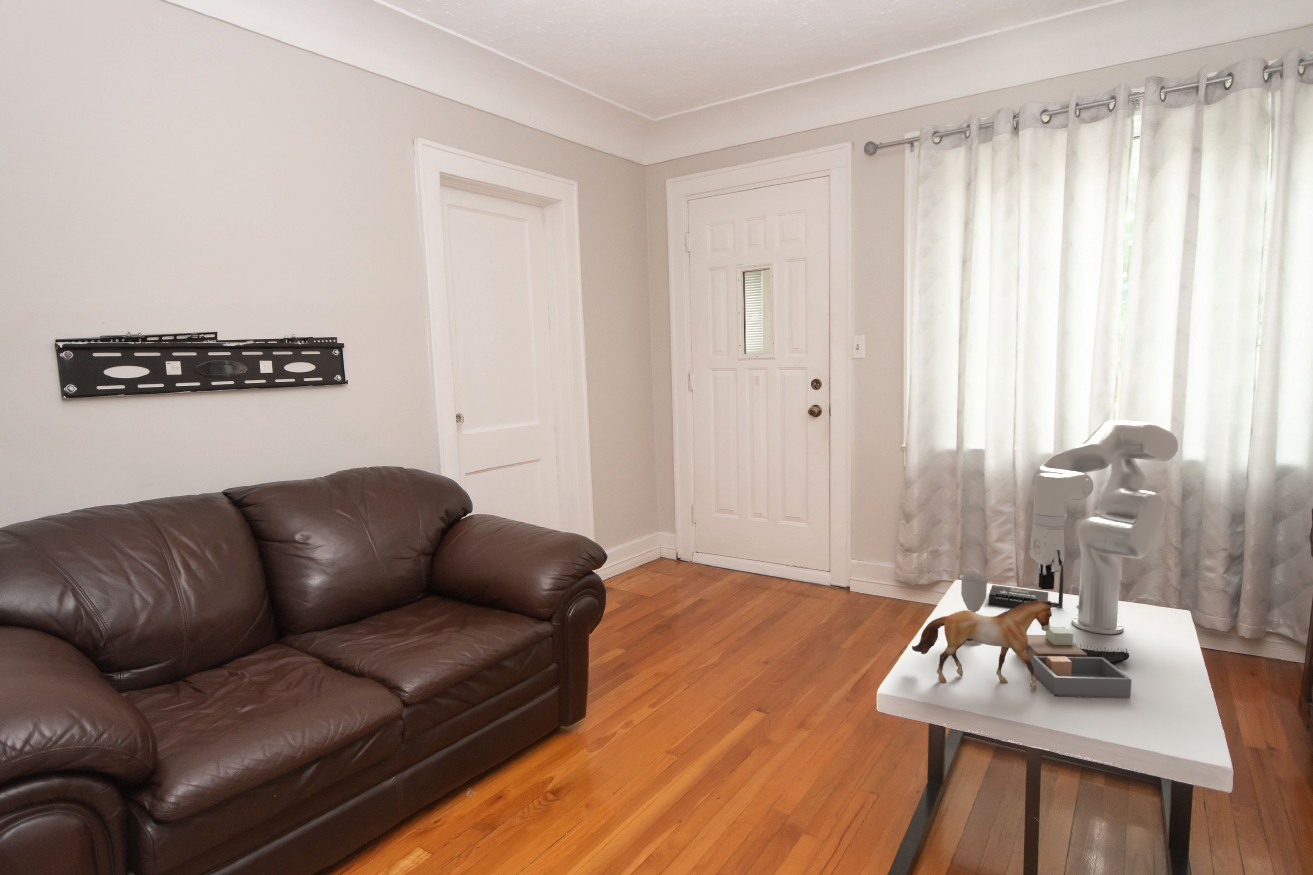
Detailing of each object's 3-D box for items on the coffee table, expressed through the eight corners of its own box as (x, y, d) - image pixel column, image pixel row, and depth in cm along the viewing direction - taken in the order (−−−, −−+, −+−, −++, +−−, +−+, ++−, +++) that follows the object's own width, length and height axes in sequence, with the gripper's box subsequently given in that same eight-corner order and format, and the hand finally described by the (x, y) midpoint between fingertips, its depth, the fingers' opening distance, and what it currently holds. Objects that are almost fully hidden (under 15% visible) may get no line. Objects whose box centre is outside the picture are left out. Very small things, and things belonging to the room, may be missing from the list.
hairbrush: (1022, 628, 195) (1130, 645, 179) (1023, 641, 196) (1131, 659, 180) (1015, 637, 189) (1127, 656, 173) (1016, 651, 189) (1127, 671, 173)
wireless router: (988, 607, 220) (989, 554, 218) (992, 594, 232) (994, 543, 230) (1061, 618, 210) (1064, 562, 208) (1062, 604, 222) (1065, 551, 220)
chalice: (957, 644, 191) (959, 580, 189) (957, 635, 197) (959, 573, 195) (987, 648, 188) (989, 582, 186) (986, 638, 195) (988, 575, 193)
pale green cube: (1045, 637, 182) (1046, 626, 182) (1063, 637, 182) (1064, 626, 181) (1053, 644, 178) (1054, 633, 177) (1072, 644, 177) (1073, 633, 177)
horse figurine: (1049, 682, 168) (1053, 599, 166) (1057, 697, 161) (1061, 610, 158) (911, 667, 177) (913, 588, 175) (912, 681, 170) (914, 598, 168)
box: (1031, 673, 173) (1032, 655, 172) (1102, 674, 171) (1103, 657, 171) (1054, 696, 161) (1055, 677, 161) (1130, 698, 160) (1131, 679, 159)
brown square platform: (1017, 652, 185) (1017, 634, 184) (1062, 653, 184) (1063, 635, 183) (1037, 672, 173) (1038, 653, 173) (1086, 673, 172) (1087, 654, 172)
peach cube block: (1046, 656, 171) (1052, 661, 168) (1065, 656, 170) (1071, 661, 167) (1045, 673, 171) (1051, 679, 168) (1064, 673, 171) (1070, 679, 168)
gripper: (1022, 514, 192) (1019, 579, 194) (1047, 526, 177) (1044, 597, 179) (1051, 514, 191) (1047, 580, 193) (1078, 527, 177) (1074, 598, 178)
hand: (1046, 588), depth 186 cm, fingers closed
